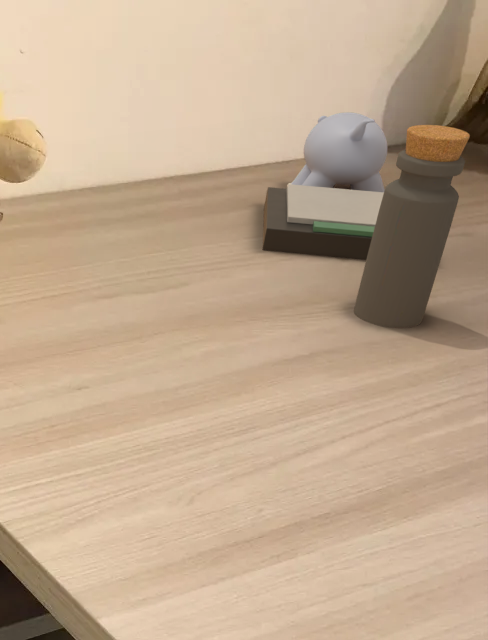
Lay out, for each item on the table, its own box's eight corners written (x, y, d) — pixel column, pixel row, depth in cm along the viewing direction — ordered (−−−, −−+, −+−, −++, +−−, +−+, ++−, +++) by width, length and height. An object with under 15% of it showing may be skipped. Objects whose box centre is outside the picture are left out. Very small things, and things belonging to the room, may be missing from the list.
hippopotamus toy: (369, 179, 125) (391, 92, 119) (394, 217, 114) (419, 121, 108) (280, 174, 126) (297, 87, 120) (295, 211, 114) (314, 116, 108)
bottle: (382, 335, 88) (436, 143, 78) (338, 310, 92) (384, 125, 82) (436, 326, 89) (494, 137, 80) (390, 302, 94) (441, 120, 84)
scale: (412, 223, 112) (420, 194, 110) (427, 269, 101) (437, 237, 99) (263, 209, 114) (268, 181, 113) (261, 253, 103) (267, 221, 101)
